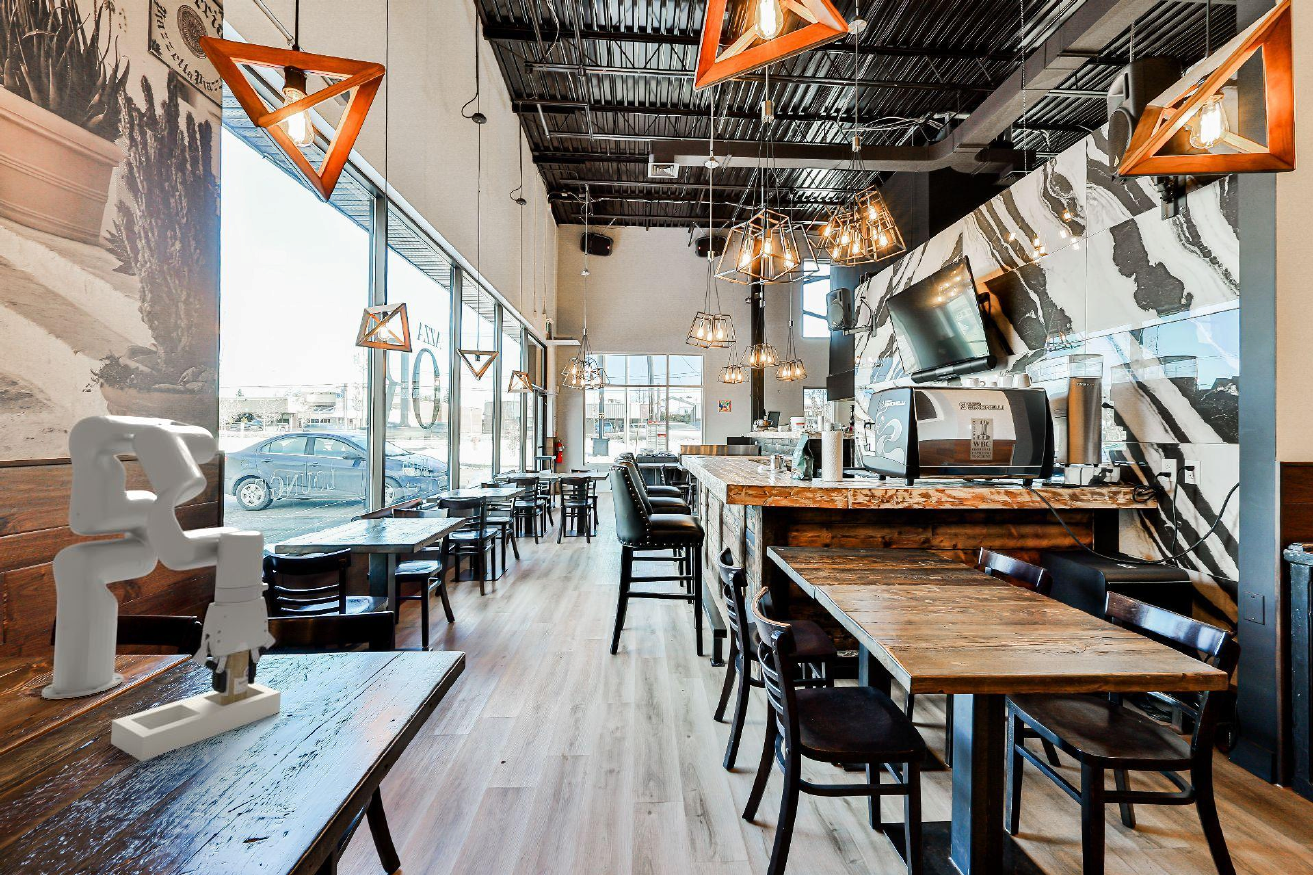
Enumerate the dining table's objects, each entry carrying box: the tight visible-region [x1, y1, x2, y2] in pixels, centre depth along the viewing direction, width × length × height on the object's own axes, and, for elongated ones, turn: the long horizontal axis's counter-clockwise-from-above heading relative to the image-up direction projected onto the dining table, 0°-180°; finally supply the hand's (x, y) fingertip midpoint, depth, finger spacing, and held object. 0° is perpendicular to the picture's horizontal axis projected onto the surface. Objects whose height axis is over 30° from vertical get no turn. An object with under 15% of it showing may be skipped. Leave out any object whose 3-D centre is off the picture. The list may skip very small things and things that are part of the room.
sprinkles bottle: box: [220, 642, 249, 706], centre depth 114 cm, size 5×5×14 cm
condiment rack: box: [110, 681, 282, 762], centre depth 109 cm, size 12×22×4 cm, turn 152°
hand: (234, 686), depth 114 cm, fingers closed on sprinkles bottle, 4 cm apart
